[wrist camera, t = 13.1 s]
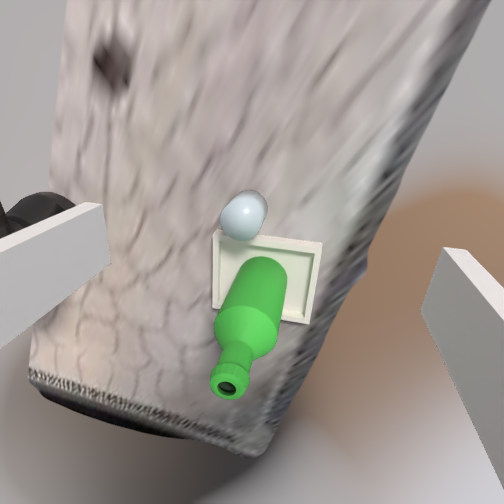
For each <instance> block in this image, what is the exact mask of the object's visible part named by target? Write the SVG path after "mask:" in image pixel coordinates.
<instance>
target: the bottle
mask: <svg viewBox="0 0 504 504" xmlns="http://www.w3.org/2000/svg"><path fill="white" fill-rule="evenodd" d="M286 289H287V274H286V272H285V269H284V268H283V267H282V266H281V264H280V263H279V262H277V261H275V260H274V259H272V258H269V257H264V256H258V257H253V258H250V259H248V260H246V261H245V262H244V263H243V264H242V266H241V267H240V269H239V271H238V273H237V275H236V277H235V279H234V281H233V283H232V285H231V287H230V289H229V291H228V294H227V296H226V298H225V300H224V302H223V304H222V306H221V308H220V310H219V312H218V314H217V316H216V319H215V322H214V335H215V337H216V339H217V341H218V343H219V345H220V347H221V349H222V354H221V356H220V359H219V361H218V364H217V366H216V367H215V368H213V370H212V372H211V377H210V388H211V390H212V392H214V393H215V394H216V395H217V396H219V397H221V398H223V399H227V400H234V399H237V398H240V397H241V396H243V394H244V392H245V390H246V389H247V387H248V385H249V383H250V377H249V372H250V368H251V364H252V361H253V360H255V359H258V358H260V357H262V356H264V355H266V354H267V353H268V352H270V351H271V350H272V349H273V348H274V346H275V344H276V342H277V336H278V331H279V326H280V321H281V316H282V311H283V306H284V300H285V294H286Z"/></svg>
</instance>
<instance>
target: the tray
mask: <svg viewBox="0 0 504 504" xmlns="http://www.w3.org/2000/svg"><path fill="white" fill-rule="evenodd" d="M321 252H322V243H320V242H312V241H304V240H297V239H289V238H281V237H274V236H266V235H258V234H257V235H256V236H255V237H253V238H252V239H250V240H247V241H237V240H234V239H232V238H230V237H229V236H227V235H226V233H225V232H224V231H223V230H220V229H217V230H216V231H215V232H214V234H213V305H212V308H215V309H220V308H221V306H222V304H223V302H224V300H225V298H226V296H227V294H228V291H229V289H230V287H231V285H232V283H233V281H234V279H235V277H236V275H237V273H238V271H239V269H240V267H241V266H242V264H243V263H244V262H245V261H246V260H248V259H250V258H253V257H258V256H264V257H269V258H272V259H274V260H275V261H277V262H279V263H280V264H281V266H282V267H283V268H284V269H285V272H286V274H287V289H286V294H285V300H284V306H283V311H282V316H281V320H286V321H292V322H298V323H304V324H309V322H310V316H311V311H312V305H313V299H314V293H315V287H316V282H317V276H318V270H319V264H320V258H321Z"/></svg>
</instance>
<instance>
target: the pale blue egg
mask: <svg viewBox="0 0 504 504" xmlns="http://www.w3.org/2000/svg"><path fill="white" fill-rule="evenodd" d="M267 211H268V206H267V202H266V200H265V198H264V197H263V196H262V195H261V194H260V193H258V192H256V191H253V190H244V191H241V192H240V193H238V194H237V195H236V196H235V197H234V198H233V199H232V201H231V202H230V203H229V204H228V205H227V206H226V207H225V208H224V210H223V211H222V214H221V217H220V223H221V227H222V229H223V231H224V232H225V233H226V235H227V236H229V237H230V238H232V239H234V240H237V241H247V240H250V239H252V238H253V237H255V236H256V235H257V233H258V231H259V229H260V227H261V225H262V223H263V221H264V219H265V217H266V215H267Z"/></svg>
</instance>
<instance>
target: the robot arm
mask: <svg viewBox="0 0 504 504" xmlns="http://www.w3.org/2000/svg"><path fill="white" fill-rule="evenodd" d="M110 264H111V259H110V252H109V245H108V239H107V232H106V225H105V219H104V212H103V205H102V204H97V203H89V202H84V203H82V204H80V205H78V206H76V205H75V204H73V203H72V202H71V201H69V200H68V199H66V198H65V197H63V196H61V195H58V194H55V193H52V192H39V193H36V194H33V195H29V196H27V197H25V198H23V199H21V200H20V201H19V202H18V203H17V204H16V205H15V206H14V207H13V208H11V209H10V210H9V211H8V212H7V213H6V214H5V212H4V209H3V207H2V204H1V202H0V349H1V348H3V347H4V346H5V345H7V344H8V343H9V342H10V341H12V340H13V339H14V338H16V337H17V336H18V335H19V334H21V333H22V332H23V331H25V330H26V329H27V328H28V327H30V326H31V325H32V324H34V323H35V322H36V321H38V320H39V319H40V318H41V317H43V316H44V315H45V314H47V313H48V312H49V311H50V310H52V309H53V308H54V307H56V306H57V305H58V304H59V303H61V302H62V301H63V300H65V299H66V298H67V297H68V296H70V295H71V294H72V293H74V292H75V291H76V290H77V289H79V288H80V287H81V286H83V285H84V284H85V283H86V282H88V281H89V280H90V279H92V278H93V277H94V276H95V275H97V274H98V273H99V272H101V271H102V270H103V269H104V268H106V267H107V266H108V265H110ZM420 312H421V314H422V316H423V318H424V320H425V322H426V325H427V327H428V329H429V331H430V333H431V335H432V337H433V339H434V342H435V344H436V346H437V348H438V350H439V352H440V354H441V357H442V359H443V361H444V363H445V365H446V367H447V369H448V372H449V374H450V376H451V378H452V380H453V382H454V384H455V386H456V389H457V391H458V393H459V395H460V397H461V399H462V401H463V403H464V405H465V408H466V410H467V412H468V414H469V416H470V418H471V420H472V423H473V425H474V427H475V429H476V431H477V433H478V435H479V438H480V440H481V442H482V444H483V446H484V448H485V450H486V453H487V455H488V457H489V459H490V461H491V463H492V465H493V467H494V469H495V472H496V474H497V476H498V478H499V480H500V482H501V484H502V487H503V489H504V288H503V287H502V286H501V285H500V284H499V283H498V282H497V281H496V280H495V279H494V278H493V277H492V276H491V275H490V274H489V273H488V272H487V271H486V270H485V269H484V268H483V267H482V266H481V265H480V264H479V263H478V261H476V259H474V257H473V256H472V255H471V254H470V253H469V252H468V251H467V250H463V249H455V248H447V247H443V248H442V251H441V253H440V256H439V259H438V262H437V265H436V268H435V270H434V273H433V276H432V279H431V282H430V285H429V288H428V290H427V293H426V296H425V299H424V302H423V305H422V307H421V310H420Z"/></svg>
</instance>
